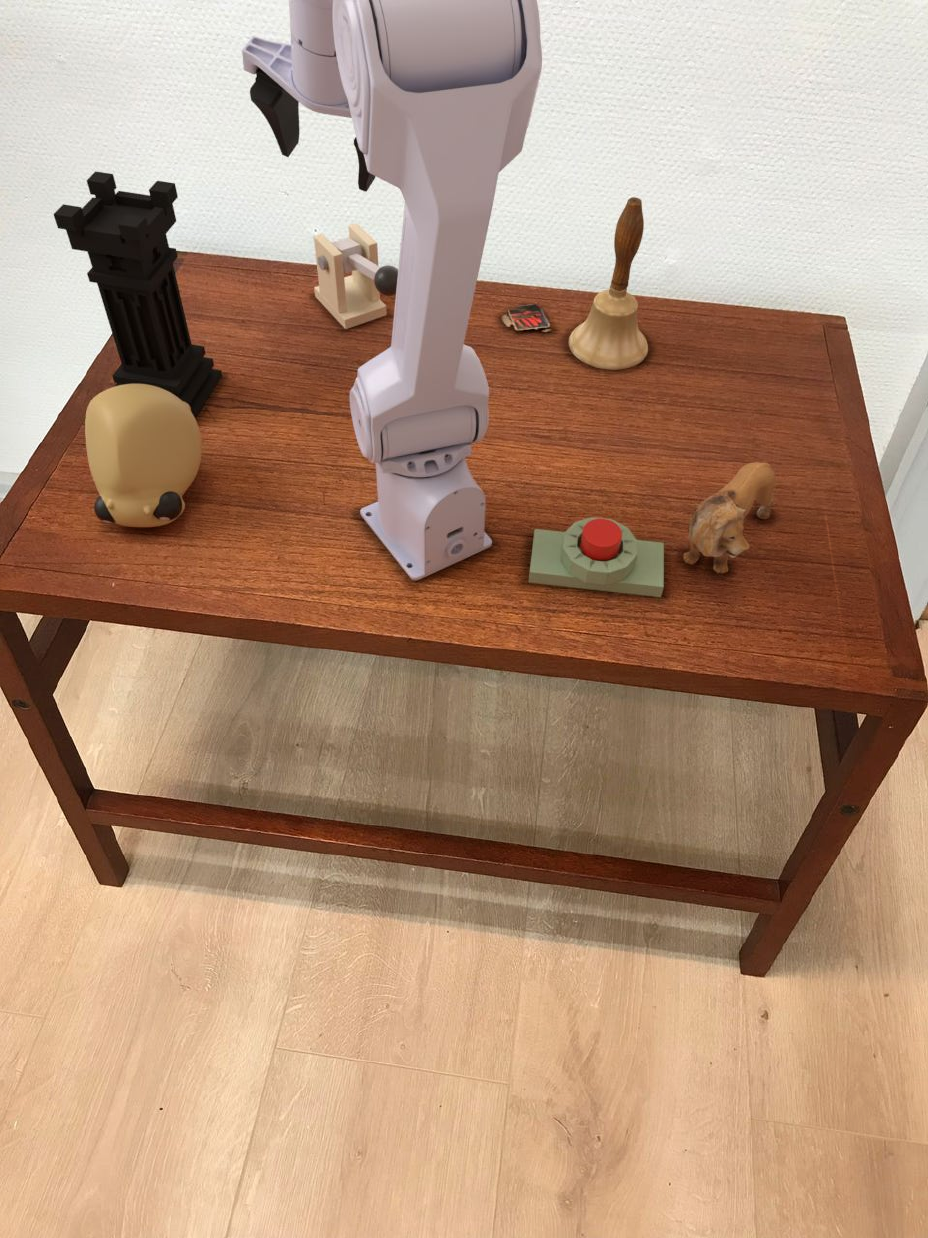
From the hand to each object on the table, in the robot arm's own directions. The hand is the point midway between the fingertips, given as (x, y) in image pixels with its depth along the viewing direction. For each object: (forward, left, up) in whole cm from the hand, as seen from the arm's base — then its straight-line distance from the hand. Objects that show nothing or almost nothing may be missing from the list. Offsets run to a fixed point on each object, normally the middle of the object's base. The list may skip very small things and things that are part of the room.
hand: (328, 165), depth 88 cm
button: (-39, -3, -16) cm, 42 cm away
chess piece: (+1, +19, -18) cm, 26 cm away
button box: (-39, -3, -18) cm, 44 cm away
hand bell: (-15, -23, -18) cm, 33 cm away
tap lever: (0, -3, -13) cm, 13 cm away
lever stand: (+5, -3, -18) cm, 19 cm away
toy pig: (-12, +25, -18) cm, 33 cm away
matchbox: (-7, -18, -18) cm, 27 cm away
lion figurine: (-43, -14, -18) cm, 49 cm away
